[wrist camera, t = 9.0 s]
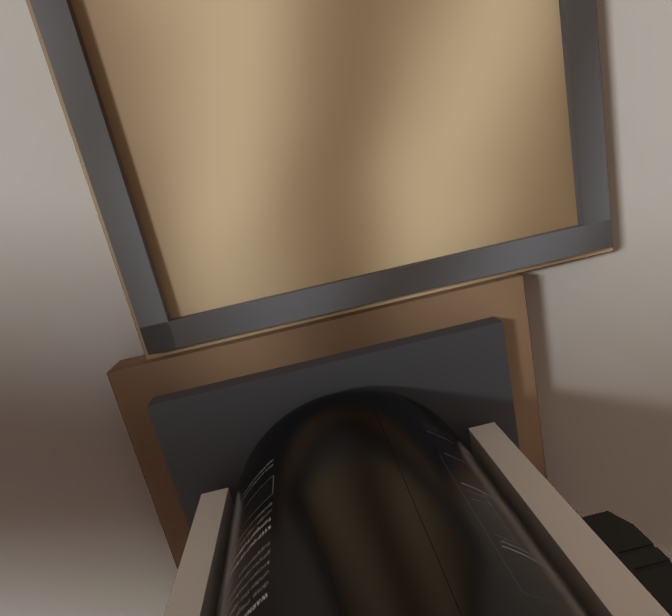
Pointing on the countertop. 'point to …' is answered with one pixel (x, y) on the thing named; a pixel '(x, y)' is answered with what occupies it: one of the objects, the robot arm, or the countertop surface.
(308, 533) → the supplement bottle
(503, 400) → the pad
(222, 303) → the board
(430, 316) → the ink tray
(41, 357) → the countertop surface
